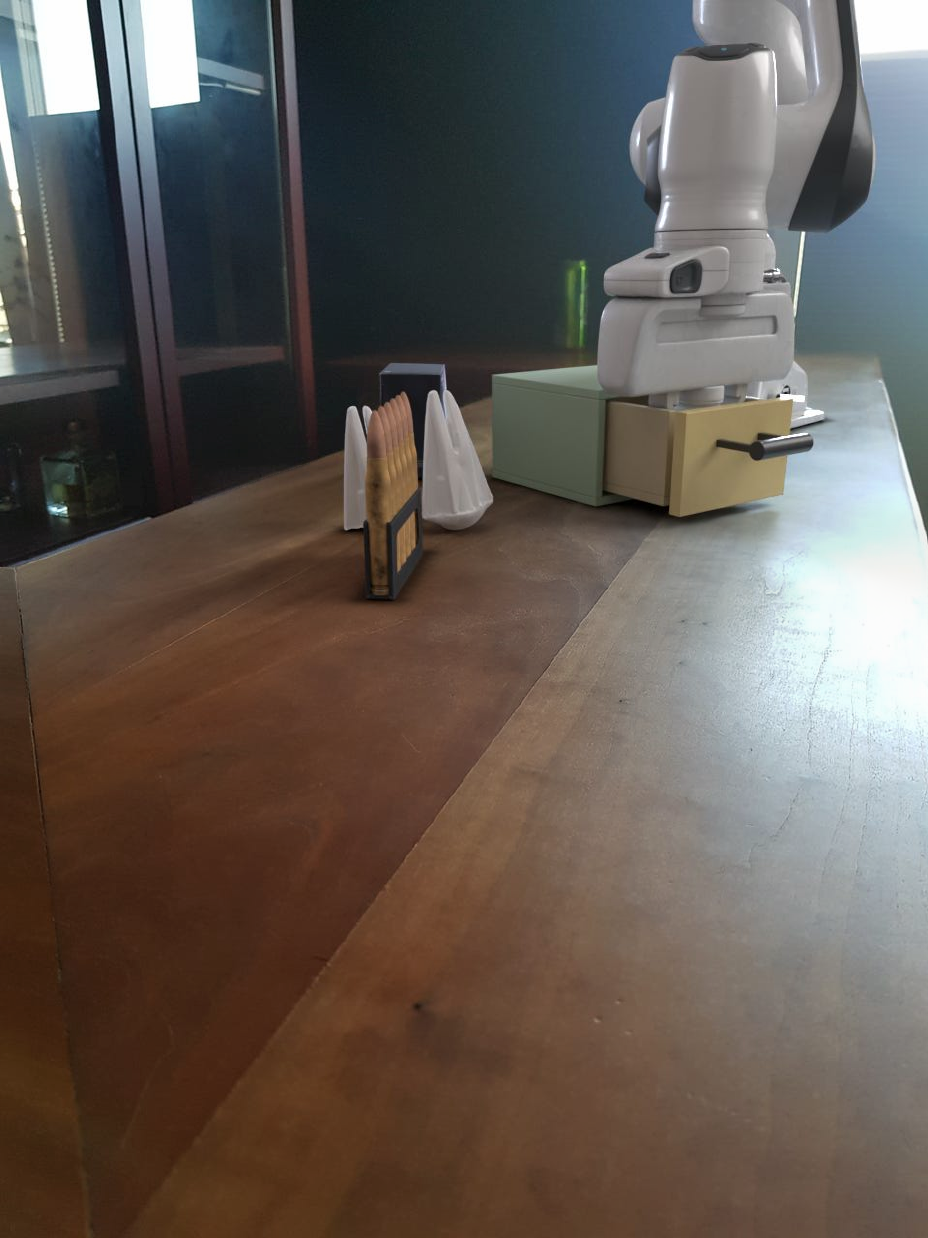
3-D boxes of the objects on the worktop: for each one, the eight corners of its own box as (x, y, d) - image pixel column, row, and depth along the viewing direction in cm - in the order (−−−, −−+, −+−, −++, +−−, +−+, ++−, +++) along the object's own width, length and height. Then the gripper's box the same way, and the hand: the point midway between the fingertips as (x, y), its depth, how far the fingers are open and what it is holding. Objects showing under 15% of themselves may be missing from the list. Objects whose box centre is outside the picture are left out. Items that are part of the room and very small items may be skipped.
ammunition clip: (399, 552, 71) (393, 389, 67) (423, 552, 71) (418, 389, 67) (365, 599, 61) (355, 412, 57) (393, 600, 61) (385, 412, 57)
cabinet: (706, 485, 91) (714, 377, 87) (595, 506, 84) (599, 390, 80) (597, 460, 103) (600, 364, 99) (492, 477, 96) (491, 374, 92)
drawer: (832, 505, 79) (845, 404, 76) (727, 530, 72) (736, 420, 69) (663, 468, 94) (668, 382, 91) (563, 485, 88) (565, 394, 85)
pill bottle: (721, 478, 84) (729, 381, 81) (720, 489, 80) (728, 388, 77) (667, 475, 86) (673, 380, 83) (663, 486, 81) (669, 387, 78)
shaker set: (494, 522, 79) (494, 386, 75) (487, 535, 75) (486, 393, 71) (355, 518, 81) (348, 385, 77) (341, 531, 77) (333, 392, 73)
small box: (445, 479, 95) (443, 371, 91) (380, 480, 95) (375, 372, 91) (449, 458, 105) (447, 361, 101) (390, 459, 105) (386, 362, 101)
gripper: (761, 268, 85) (747, 424, 89) (587, 272, 74) (582, 449, 79) (821, 268, 80) (803, 433, 85) (645, 272, 69) (635, 461, 74)
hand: (695, 441), depth 82 cm, fingers closed on pill bottle, 5 cm apart
